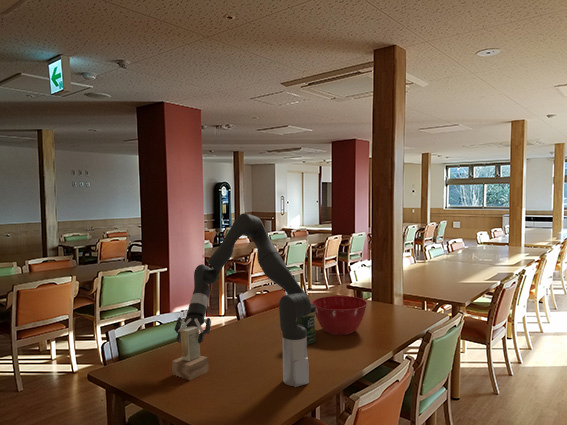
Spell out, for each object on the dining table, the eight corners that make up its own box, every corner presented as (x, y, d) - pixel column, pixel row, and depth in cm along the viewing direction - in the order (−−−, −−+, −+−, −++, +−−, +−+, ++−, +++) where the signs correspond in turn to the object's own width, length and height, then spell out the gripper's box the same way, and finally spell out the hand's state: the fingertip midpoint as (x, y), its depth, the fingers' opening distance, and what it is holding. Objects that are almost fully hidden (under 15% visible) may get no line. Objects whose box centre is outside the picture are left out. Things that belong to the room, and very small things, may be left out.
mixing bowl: (338, 344, 199) (338, 312, 198) (301, 330, 222) (300, 301, 221) (379, 332, 216) (378, 302, 215) (340, 320, 239) (339, 293, 238)
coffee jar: (304, 347, 196) (303, 307, 196) (293, 343, 202) (292, 304, 202) (319, 342, 203) (318, 303, 202) (307, 338, 209) (306, 301, 208)
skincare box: (193, 354, 174) (192, 325, 174) (200, 356, 171) (199, 326, 171) (181, 359, 169) (179, 329, 169) (188, 361, 166) (186, 330, 166)
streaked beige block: (208, 371, 171) (208, 357, 171) (190, 381, 163) (190, 365, 163) (190, 367, 177) (190, 352, 176) (172, 375, 168) (172, 360, 168)
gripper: (179, 301, 178) (169, 337, 167) (212, 302, 176) (203, 338, 165) (184, 310, 183) (174, 346, 172) (216, 311, 181) (208, 347, 170)
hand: (189, 342), depth 169 cm, fingers open, 8 cm apart
